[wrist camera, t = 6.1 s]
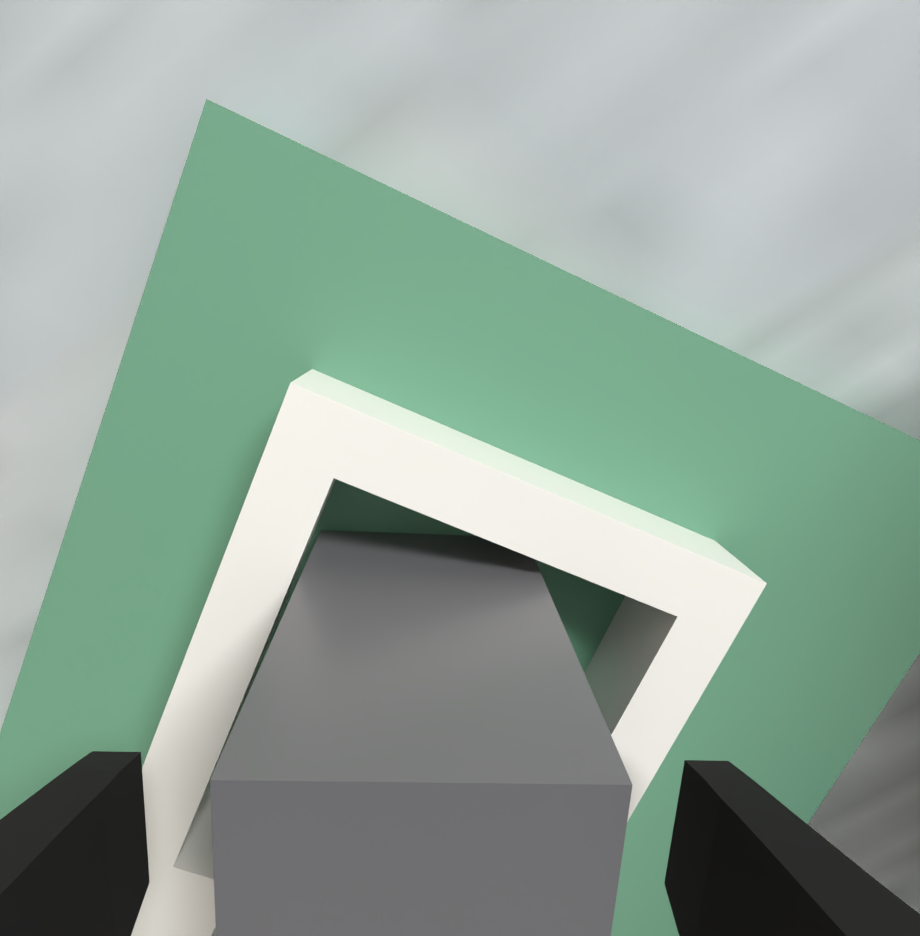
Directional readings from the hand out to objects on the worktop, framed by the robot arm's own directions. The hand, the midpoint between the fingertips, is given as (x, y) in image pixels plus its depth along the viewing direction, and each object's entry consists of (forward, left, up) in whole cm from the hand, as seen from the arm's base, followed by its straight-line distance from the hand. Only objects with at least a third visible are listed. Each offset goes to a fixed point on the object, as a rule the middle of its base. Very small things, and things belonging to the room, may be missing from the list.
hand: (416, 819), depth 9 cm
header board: (-1, 0, -4) cm, 4 cm away
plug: (0, 0, -3) cm, 3 cm away
